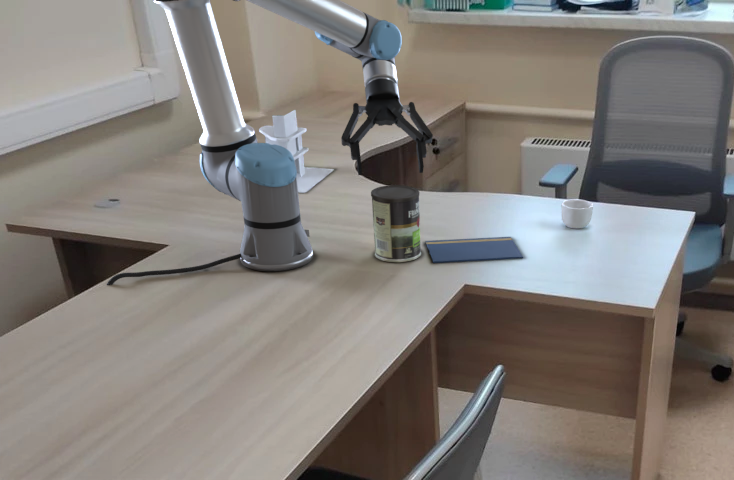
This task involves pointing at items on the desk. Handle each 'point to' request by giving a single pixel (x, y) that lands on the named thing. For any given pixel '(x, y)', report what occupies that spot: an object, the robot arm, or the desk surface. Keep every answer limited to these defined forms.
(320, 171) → the architectural model
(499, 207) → the desk surface
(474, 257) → the blue flat rectangular block
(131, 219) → the desk surface
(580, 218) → the teacup
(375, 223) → the coffee can
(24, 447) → the desk surface
